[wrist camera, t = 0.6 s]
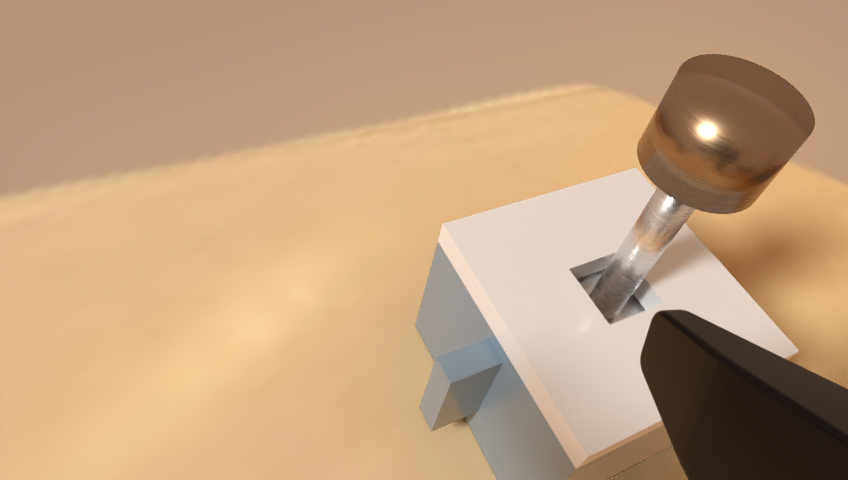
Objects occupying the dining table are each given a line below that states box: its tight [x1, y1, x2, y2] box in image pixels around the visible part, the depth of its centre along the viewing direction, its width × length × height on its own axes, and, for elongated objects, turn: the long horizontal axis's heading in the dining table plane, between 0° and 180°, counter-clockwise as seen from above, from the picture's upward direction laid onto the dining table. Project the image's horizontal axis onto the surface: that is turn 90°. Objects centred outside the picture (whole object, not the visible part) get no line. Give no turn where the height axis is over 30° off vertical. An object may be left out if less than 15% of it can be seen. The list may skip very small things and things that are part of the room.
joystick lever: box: [577, 54, 815, 325], centre depth 19 cm, size 7×7×10 cm
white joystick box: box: [415, 168, 799, 480], centre depth 24 cm, size 9×11×7 cm
